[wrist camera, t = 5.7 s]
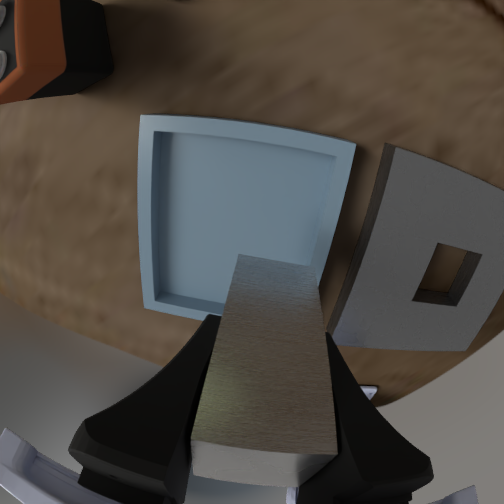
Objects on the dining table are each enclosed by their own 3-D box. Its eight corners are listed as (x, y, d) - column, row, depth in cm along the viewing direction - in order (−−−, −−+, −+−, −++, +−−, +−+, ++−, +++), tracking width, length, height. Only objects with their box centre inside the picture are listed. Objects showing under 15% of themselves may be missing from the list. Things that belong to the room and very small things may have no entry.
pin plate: (458, 338, 24) (465, 351, 22) (326, 327, 24) (328, 344, 23) (524, 201, 16) (537, 209, 15) (384, 142, 17) (395, 146, 15)
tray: (300, 320, 24) (301, 336, 22) (152, 293, 24) (144, 307, 22) (348, 140, 17) (356, 144, 15) (153, 113, 17) (140, 114, 15)
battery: (104, 2, 13) (12, -27, 4) (117, 72, 16) (11, 70, 7) (62, 28, 13) (-31, 21, 5) (73, 96, 16) (-29, 114, 8)
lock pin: (296, 322, 15) (298, 487, 7) (230, 312, 15) (193, 474, 7) (314, 266, 13) (337, 454, 6) (238, 253, 13) (190, 438, 6)
